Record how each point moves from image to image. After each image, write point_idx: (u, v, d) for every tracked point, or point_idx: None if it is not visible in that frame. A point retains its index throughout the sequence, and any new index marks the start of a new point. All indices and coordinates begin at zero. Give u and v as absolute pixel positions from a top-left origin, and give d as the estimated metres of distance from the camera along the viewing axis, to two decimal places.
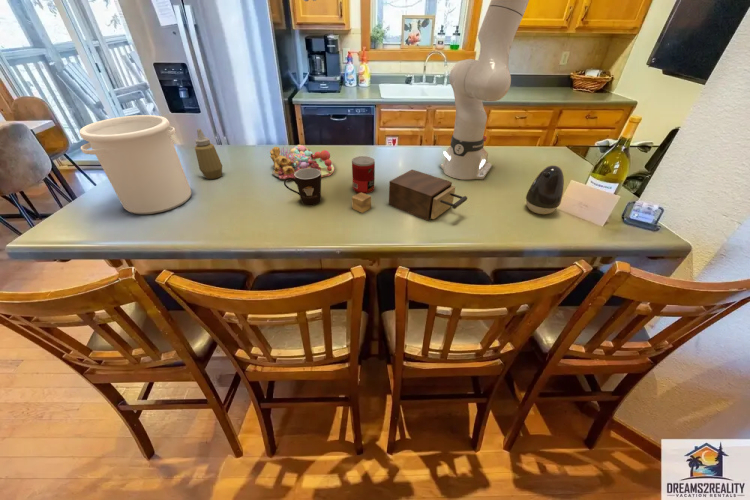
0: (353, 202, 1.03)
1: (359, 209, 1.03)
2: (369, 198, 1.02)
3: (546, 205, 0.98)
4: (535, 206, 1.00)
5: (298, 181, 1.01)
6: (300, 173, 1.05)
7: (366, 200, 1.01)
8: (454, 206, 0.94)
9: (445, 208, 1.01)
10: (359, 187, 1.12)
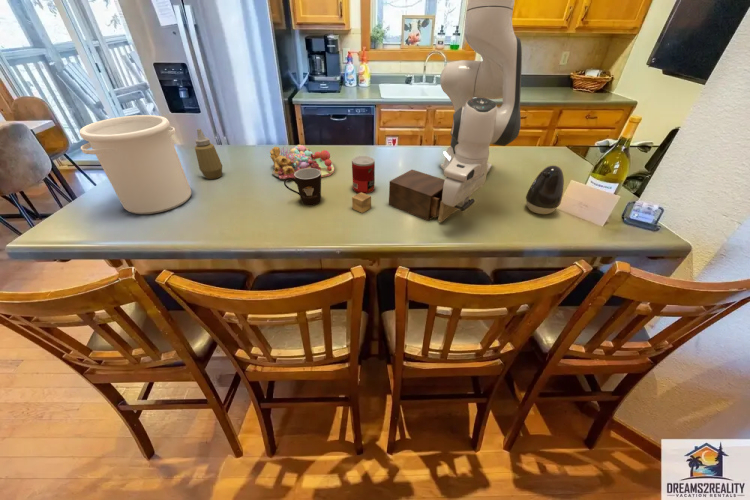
0: (353, 202, 1.03)
1: (359, 209, 1.03)
2: (369, 198, 1.02)
3: (546, 205, 0.98)
4: (535, 206, 1.00)
5: (298, 181, 1.01)
6: (300, 173, 1.05)
7: (366, 200, 1.01)
8: (462, 209, 0.92)
9: (452, 211, 1.00)
10: (359, 187, 1.12)
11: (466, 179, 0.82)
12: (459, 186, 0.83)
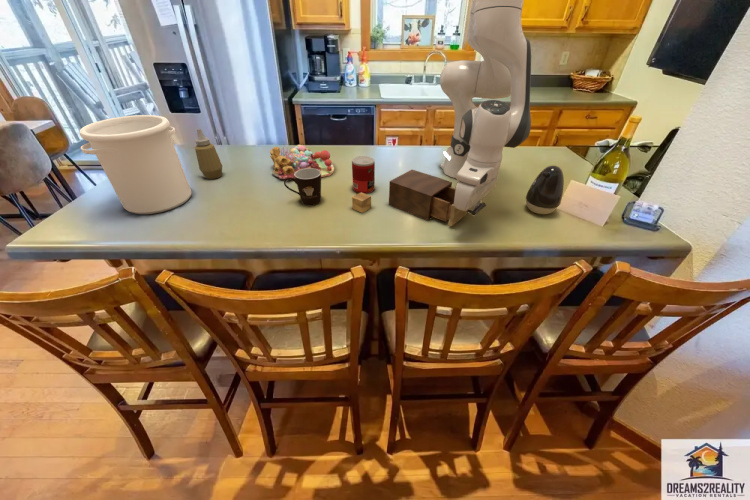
0: (353, 202, 1.03)
1: (359, 209, 1.03)
2: (369, 198, 1.02)
3: (546, 205, 0.98)
4: (535, 206, 1.00)
5: (298, 181, 1.01)
6: (300, 173, 1.05)
7: (366, 200, 1.01)
8: (473, 213, 0.90)
9: (462, 214, 0.98)
10: (359, 187, 1.12)
11: (479, 183, 0.80)
12: (472, 190, 0.81)
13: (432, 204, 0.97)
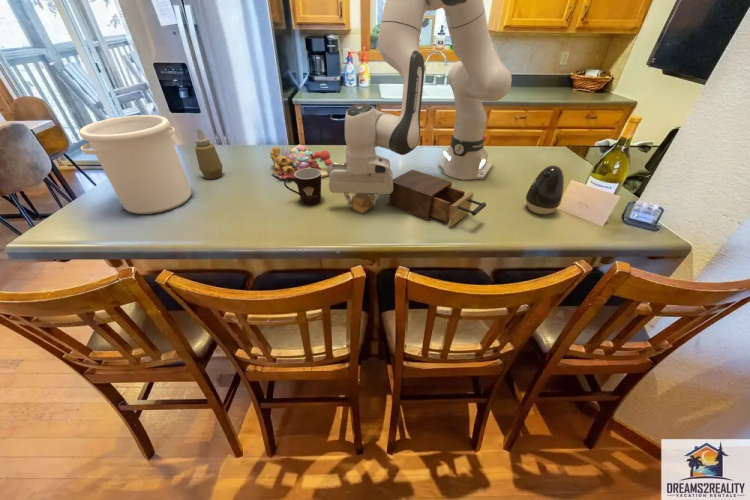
0: (353, 202, 1.03)
1: (359, 209, 1.03)
2: (369, 198, 1.02)
3: (546, 205, 0.98)
4: (535, 206, 1.00)
5: (298, 181, 1.01)
6: (300, 173, 1.05)
7: (366, 200, 1.01)
8: (473, 213, 0.90)
9: (462, 214, 0.98)
10: None
11: None
12: None
13: (432, 204, 0.97)
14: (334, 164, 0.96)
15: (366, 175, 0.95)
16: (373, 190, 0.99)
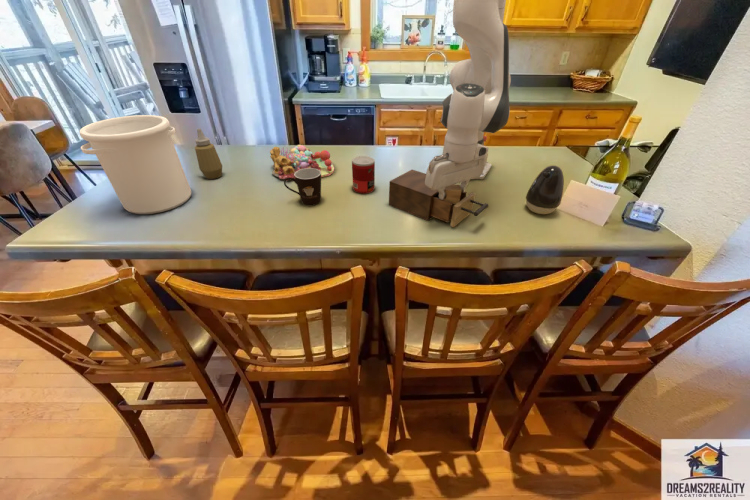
0: None
1: (455, 201, 0.95)
2: (459, 187, 0.96)
3: (546, 205, 0.98)
4: (535, 206, 1.00)
5: (298, 181, 1.01)
6: (300, 173, 1.05)
7: None
8: (476, 214, 0.90)
9: (464, 215, 0.98)
10: (359, 187, 1.12)
11: None
12: None
13: (434, 205, 0.96)
14: (438, 157, 0.85)
15: (468, 161, 0.89)
16: (468, 176, 0.93)
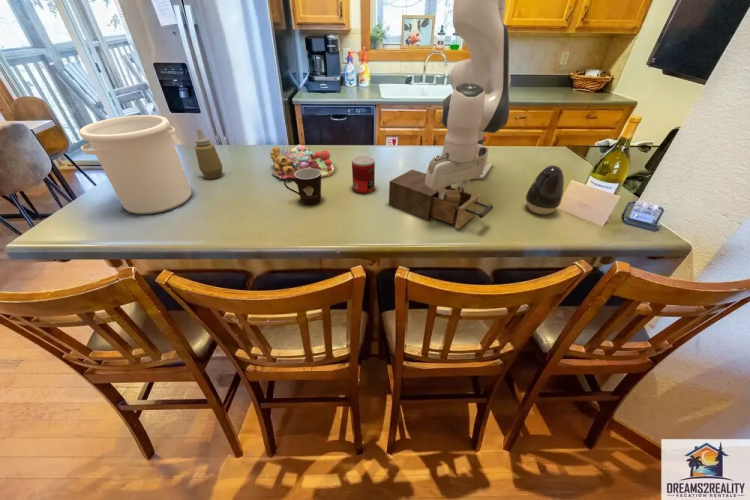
0: None
1: None
2: None
3: (546, 205, 0.98)
4: (535, 206, 1.00)
5: (298, 181, 1.01)
6: (300, 173, 1.05)
7: None
8: (481, 216, 0.89)
9: (469, 217, 0.97)
10: (359, 187, 1.12)
11: None
12: None
13: (438, 206, 0.95)
14: (438, 157, 0.85)
15: (468, 161, 0.89)
16: (468, 176, 0.93)
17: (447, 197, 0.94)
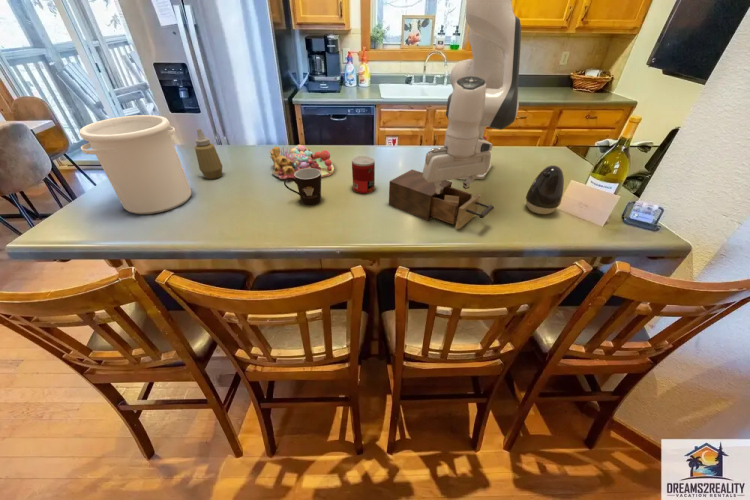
0: None
1: None
2: (458, 199, 0.98)
3: (546, 205, 0.98)
4: (535, 206, 1.00)
5: (298, 181, 1.01)
6: (300, 173, 1.05)
7: (458, 201, 0.97)
8: (481, 216, 0.89)
9: (470, 217, 0.97)
10: (359, 187, 1.12)
11: None
12: None
13: (439, 207, 0.95)
14: (435, 149, 0.85)
15: (469, 156, 0.87)
16: (470, 172, 0.92)
17: None
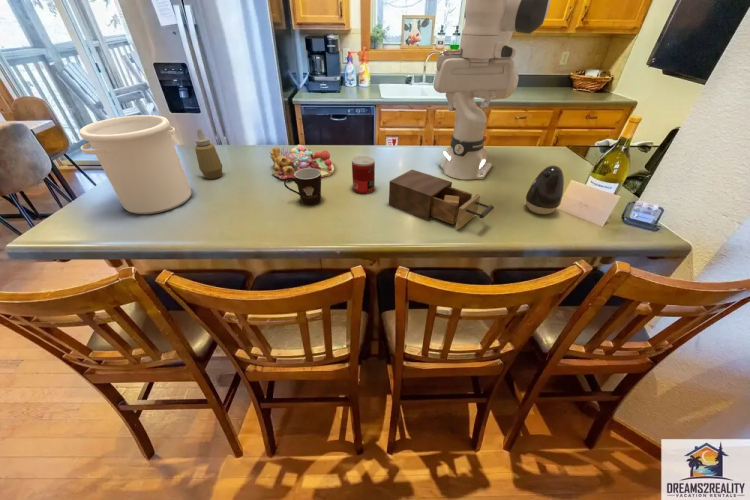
0: None
1: None
2: (458, 199, 0.98)
3: (546, 205, 0.98)
4: (535, 206, 1.00)
5: (298, 181, 1.01)
6: (300, 173, 1.05)
7: (458, 201, 0.97)
8: (481, 216, 0.89)
9: (470, 217, 0.97)
10: (359, 187, 1.12)
11: None
12: None
13: (439, 207, 0.95)
14: (448, 51, 0.75)
15: (487, 62, 0.77)
16: (489, 86, 0.81)
17: None
